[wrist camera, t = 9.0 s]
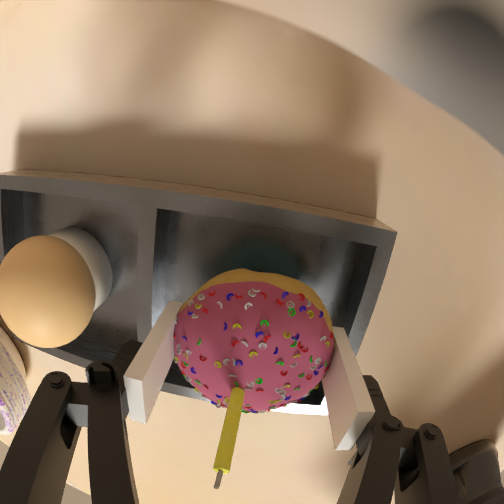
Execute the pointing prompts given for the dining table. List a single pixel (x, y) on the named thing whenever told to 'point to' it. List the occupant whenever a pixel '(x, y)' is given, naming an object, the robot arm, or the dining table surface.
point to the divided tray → (195, 253)
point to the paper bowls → (11, 386)
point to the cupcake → (252, 346)
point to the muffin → (53, 286)
